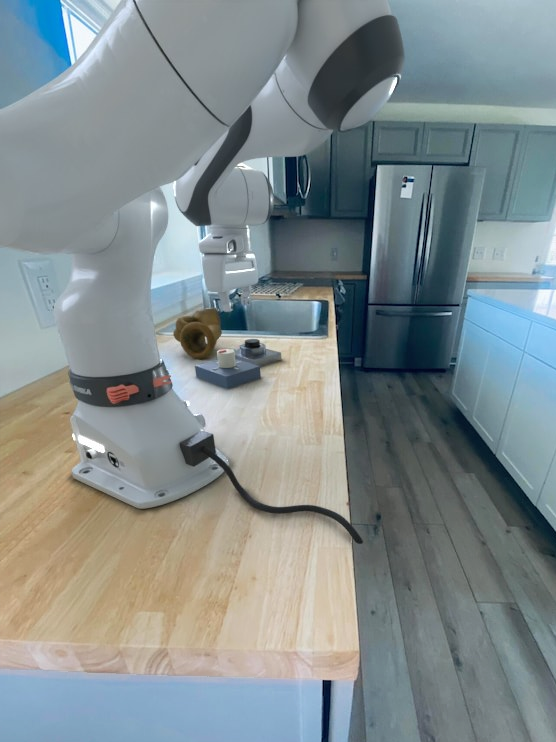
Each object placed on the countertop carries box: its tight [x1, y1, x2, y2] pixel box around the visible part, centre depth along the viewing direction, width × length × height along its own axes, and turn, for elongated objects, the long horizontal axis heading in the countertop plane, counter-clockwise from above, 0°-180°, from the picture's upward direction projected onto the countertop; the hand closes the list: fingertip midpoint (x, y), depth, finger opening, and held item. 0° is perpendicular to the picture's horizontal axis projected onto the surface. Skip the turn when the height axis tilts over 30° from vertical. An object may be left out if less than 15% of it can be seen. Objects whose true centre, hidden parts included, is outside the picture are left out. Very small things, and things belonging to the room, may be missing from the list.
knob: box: [216, 348, 236, 368], centre depth 86 cm, size 4×4×4 cm
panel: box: [194, 359, 262, 390], centre depth 88 cm, size 12×10×3 cm
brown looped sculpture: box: [172, 307, 223, 360], centre depth 109 cm, size 18×13×22 cm
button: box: [244, 338, 261, 348], centre depth 100 cm, size 4×4×2 cm
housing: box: [233, 342, 282, 367], centre depth 101 cm, size 12×10×4 cm
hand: (237, 308), depth 88 cm, fingers open, 8 cm apart
